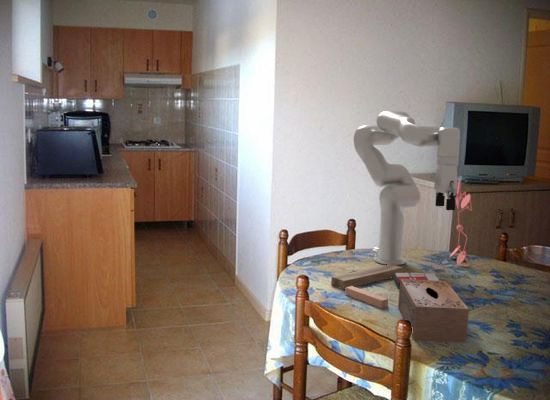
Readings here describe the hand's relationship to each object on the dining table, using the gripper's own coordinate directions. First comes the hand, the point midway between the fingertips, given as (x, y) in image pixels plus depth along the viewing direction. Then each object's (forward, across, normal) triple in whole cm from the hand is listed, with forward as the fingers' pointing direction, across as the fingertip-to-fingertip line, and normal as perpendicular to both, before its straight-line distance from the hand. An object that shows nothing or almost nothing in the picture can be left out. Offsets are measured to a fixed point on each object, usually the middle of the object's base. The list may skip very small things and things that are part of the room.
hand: (445, 208), depth 222 cm
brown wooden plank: (+27, 0, -28) cm, 39 cm away
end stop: (+27, +22, -35) cm, 50 cm away
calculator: (+28, +7, -12) cm, 31 cm away
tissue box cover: (+29, +44, -21) cm, 57 cm away
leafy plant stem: (+27, -26, +14) cm, 40 cm away
